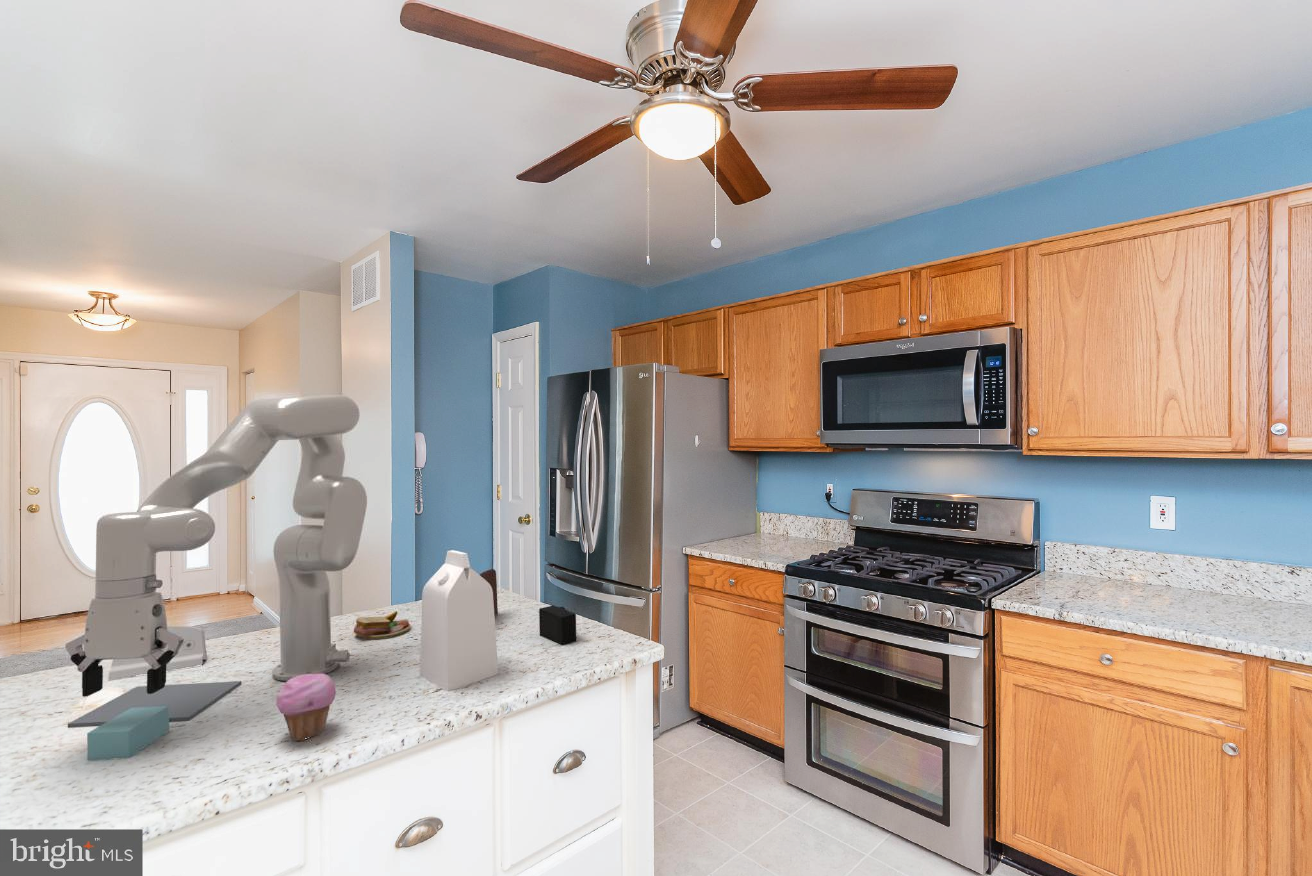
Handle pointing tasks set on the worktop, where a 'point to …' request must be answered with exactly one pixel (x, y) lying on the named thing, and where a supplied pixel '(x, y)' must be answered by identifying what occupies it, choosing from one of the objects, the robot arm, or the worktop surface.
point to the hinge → (187, 655)
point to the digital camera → (557, 624)
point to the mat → (161, 701)
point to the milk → (457, 626)
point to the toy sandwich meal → (380, 627)
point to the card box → (127, 733)
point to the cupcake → (306, 704)
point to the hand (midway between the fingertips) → (124, 692)
